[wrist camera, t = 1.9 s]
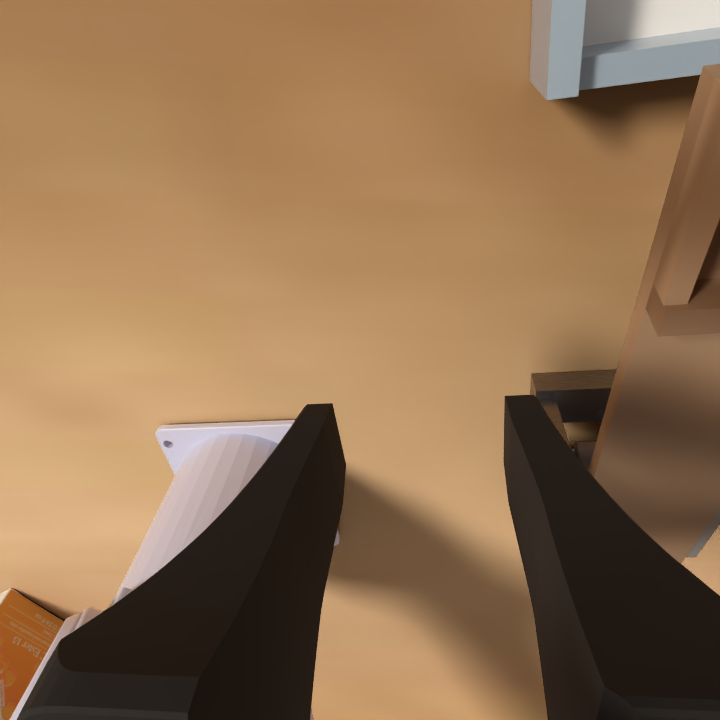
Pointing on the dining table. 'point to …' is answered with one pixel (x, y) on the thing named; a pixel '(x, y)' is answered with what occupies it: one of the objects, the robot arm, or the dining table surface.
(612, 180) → the dining table surface
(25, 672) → the small box
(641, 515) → the lever
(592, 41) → the shallow blue tray
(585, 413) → the fulcrum
